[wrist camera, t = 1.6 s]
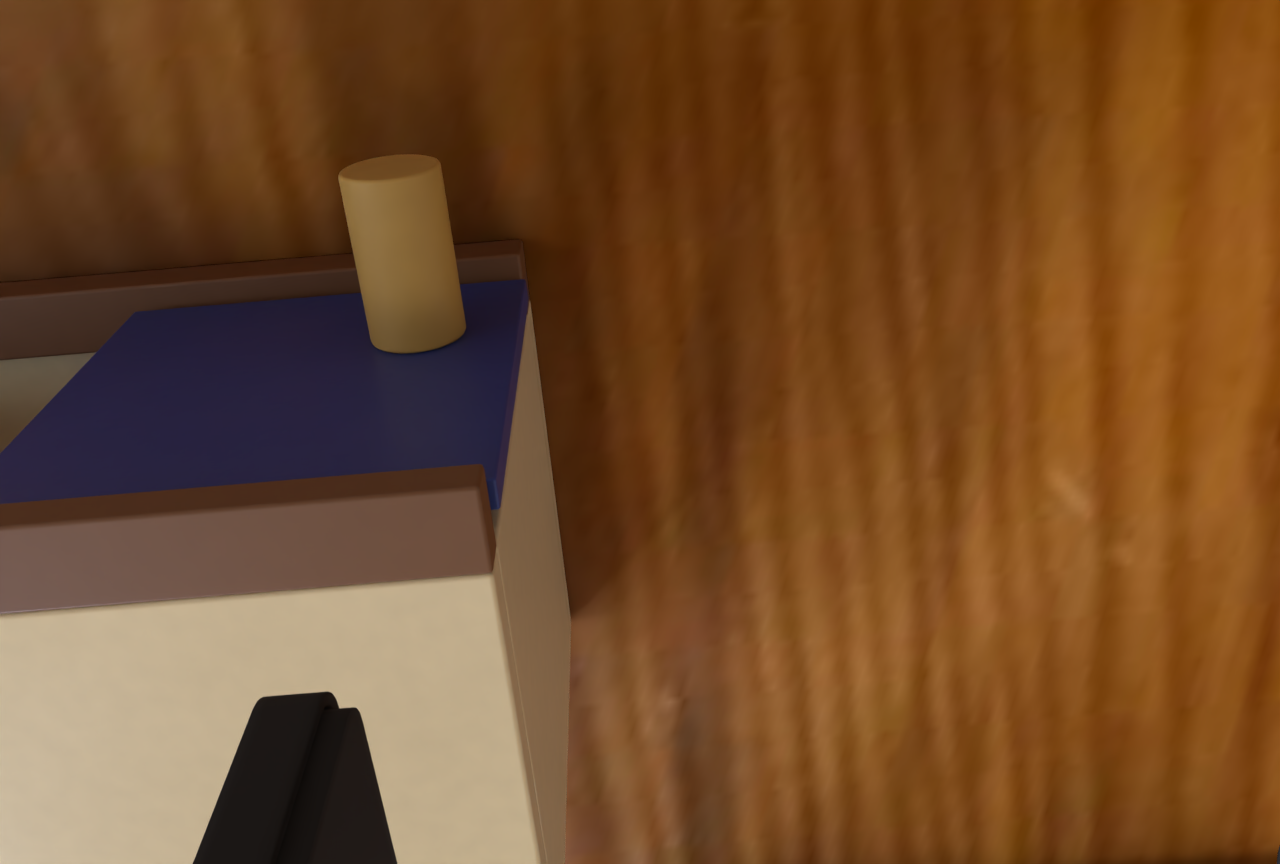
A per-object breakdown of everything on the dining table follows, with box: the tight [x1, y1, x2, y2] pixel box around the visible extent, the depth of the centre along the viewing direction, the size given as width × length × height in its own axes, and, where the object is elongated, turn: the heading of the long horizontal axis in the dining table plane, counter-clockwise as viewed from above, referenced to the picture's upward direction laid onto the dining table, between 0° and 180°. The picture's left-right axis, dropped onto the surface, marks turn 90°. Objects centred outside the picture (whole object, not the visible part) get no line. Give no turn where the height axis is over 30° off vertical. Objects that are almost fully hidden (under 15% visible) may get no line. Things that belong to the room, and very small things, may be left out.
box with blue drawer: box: [0, 239, 571, 864], centre depth 25 cm, size 12×18×12 cm, turn 94°
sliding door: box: [0, 154, 529, 510], centre depth 22 cm, size 4×9×9 cm, turn 94°
